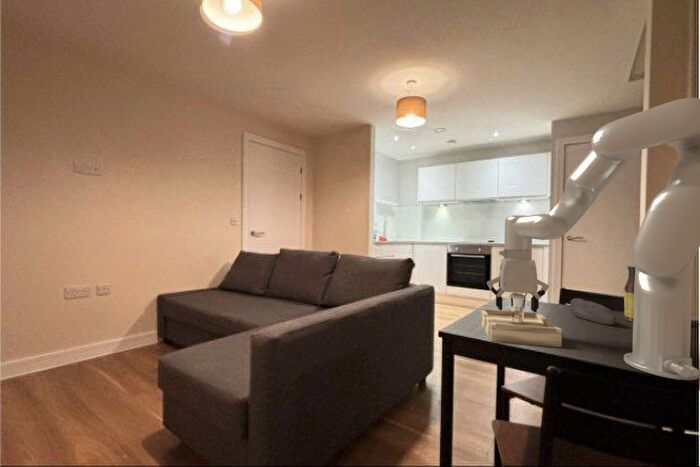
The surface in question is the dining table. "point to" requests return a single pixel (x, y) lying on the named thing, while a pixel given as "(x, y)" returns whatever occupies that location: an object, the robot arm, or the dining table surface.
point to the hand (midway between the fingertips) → (516, 310)
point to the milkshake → (517, 307)
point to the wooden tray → (520, 328)
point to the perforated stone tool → (592, 311)
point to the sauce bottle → (629, 294)
